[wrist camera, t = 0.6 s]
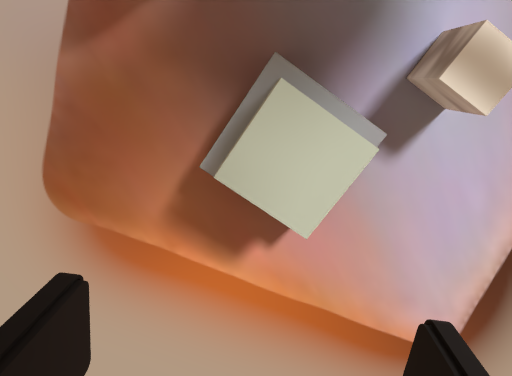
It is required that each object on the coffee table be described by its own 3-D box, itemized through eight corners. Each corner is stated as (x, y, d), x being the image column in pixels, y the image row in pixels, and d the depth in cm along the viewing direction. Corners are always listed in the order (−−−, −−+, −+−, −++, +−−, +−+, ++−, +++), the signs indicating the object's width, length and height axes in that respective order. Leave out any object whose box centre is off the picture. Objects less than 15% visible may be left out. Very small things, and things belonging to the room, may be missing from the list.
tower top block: (279, 77, 30) (281, 77, 25) (362, 138, 31) (379, 149, 27) (221, 163, 33) (213, 177, 28) (301, 216, 34) (306, 239, 29)
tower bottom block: (274, 55, 34) (275, 51, 30) (371, 127, 36) (387, 134, 31) (208, 155, 37) (199, 167, 33) (300, 217, 39) (304, 236, 34)
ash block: (442, 31, 33) (486, 19, 26) (482, 64, 34) (535, 60, 27) (406, 78, 34) (439, 78, 28) (445, 108, 35) (486, 116, 28)
